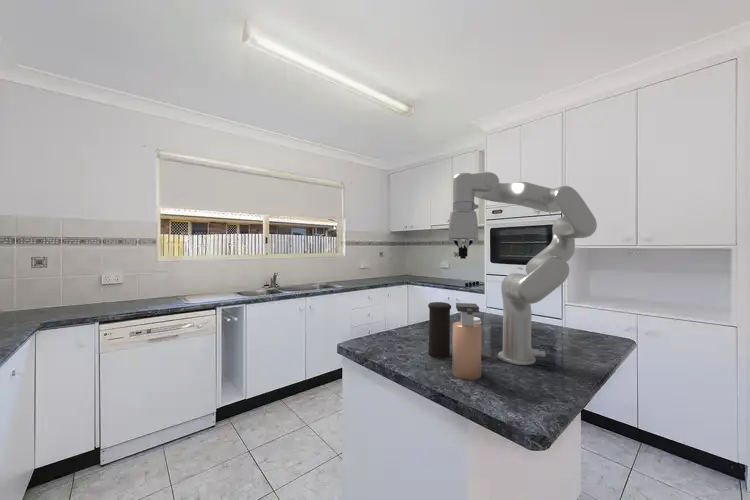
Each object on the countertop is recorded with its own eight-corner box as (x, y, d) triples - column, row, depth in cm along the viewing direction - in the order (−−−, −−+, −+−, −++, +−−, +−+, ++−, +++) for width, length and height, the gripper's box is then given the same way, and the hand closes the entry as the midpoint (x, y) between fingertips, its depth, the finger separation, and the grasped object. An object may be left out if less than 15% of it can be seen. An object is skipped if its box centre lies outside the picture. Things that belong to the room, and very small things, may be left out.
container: (449, 351, 125) (449, 300, 125) (452, 359, 116) (452, 305, 116) (426, 350, 126) (427, 300, 126) (428, 358, 117) (429, 304, 117)
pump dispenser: (478, 369, 107) (479, 308, 107) (483, 380, 98) (484, 314, 98) (451, 367, 108) (451, 307, 108) (453, 378, 99) (454, 313, 99)
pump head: (475, 322, 106) (475, 303, 105) (480, 330, 96) (481, 309, 95) (455, 321, 107) (456, 302, 106) (459, 329, 97) (459, 308, 96)
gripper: (482, 209, 118) (482, 258, 118) (441, 209, 120) (441, 257, 120) (486, 206, 110) (486, 259, 111) (443, 207, 113) (442, 258, 113)
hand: (462, 258), depth 115 cm, fingers closed
